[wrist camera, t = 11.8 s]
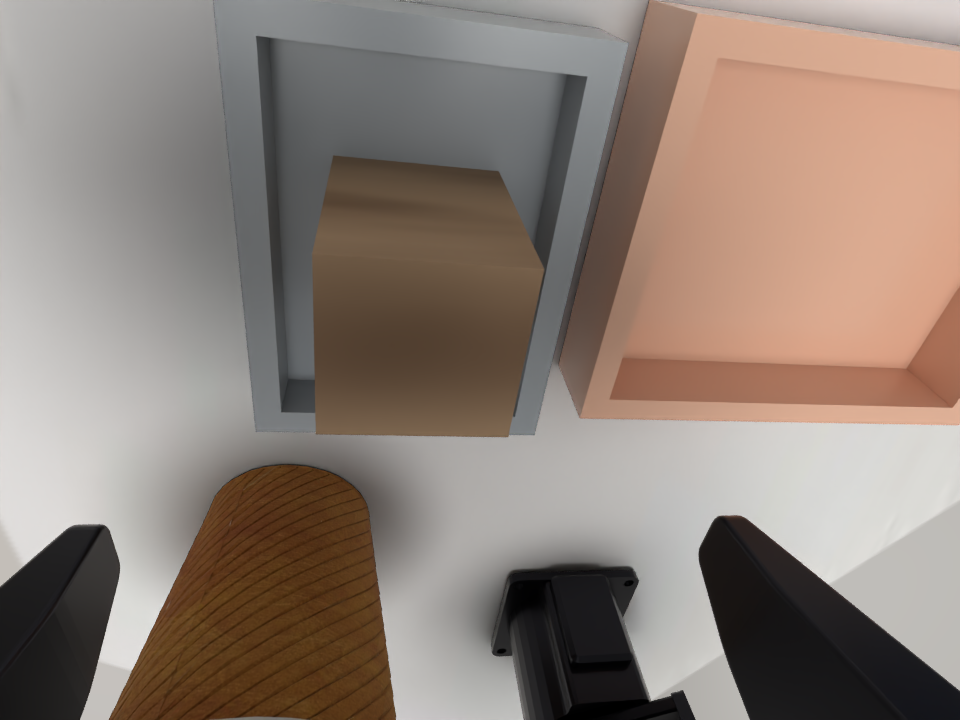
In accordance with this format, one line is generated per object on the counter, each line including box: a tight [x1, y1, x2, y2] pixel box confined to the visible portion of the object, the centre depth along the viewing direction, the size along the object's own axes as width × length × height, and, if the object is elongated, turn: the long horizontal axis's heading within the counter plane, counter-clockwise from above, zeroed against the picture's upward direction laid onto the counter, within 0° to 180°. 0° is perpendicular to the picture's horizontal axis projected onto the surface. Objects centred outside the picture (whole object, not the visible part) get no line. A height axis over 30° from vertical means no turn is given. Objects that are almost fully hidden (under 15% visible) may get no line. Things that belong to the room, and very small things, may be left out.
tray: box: [213, 0, 629, 435], centre depth 18 cm, size 12×9×2 cm
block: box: [312, 155, 544, 437], centre depth 16 cm, size 4×4×6 cm
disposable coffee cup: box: [109, 465, 396, 720], centre depth 20 cm, size 10×10×12 cm
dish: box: [559, 0, 960, 425], centre depth 19 cm, size 12×15×3 cm
